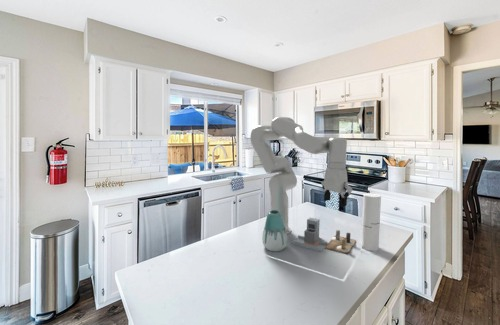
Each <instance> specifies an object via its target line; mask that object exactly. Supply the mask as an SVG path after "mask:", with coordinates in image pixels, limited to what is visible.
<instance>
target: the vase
mask: <svg viewBox="0 0 500 325" xmlns="http://www.w3.org/2000/svg"><path fill="white" fill-rule="evenodd" d="M261 240H262V244H263V247H264V248H265V249H266V250H268V251H270V252H281V251H283V250H284V249H285V248H286V246H287V245H288V234H287V233H286V228H285V225H284V221H283V217H282V215H281V213H280V212H279V211H278V210H271V209H270V210H269V211H268V213H267V215H266V219H265V223H264V227H263V232H262V238H261Z"/></svg>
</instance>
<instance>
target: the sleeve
mask: <svg viewBox="0 0 500 325" xmlns="http://www.w3.org/2000/svg"><path fill="white" fill-rule="evenodd" d="M318 232H319V233H320V229H319V230H316V229H312V228H308V229H307V228H306V229H304V234H303V236H304V243H305V244H309V245H313V246H317V245H318V240H319V238H318Z"/></svg>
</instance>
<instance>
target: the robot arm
mask: <svg viewBox="0 0 500 325" xmlns="http://www.w3.org/2000/svg"><path fill="white" fill-rule="evenodd" d="M249 136H250V144H251V145H252V148H253V149H254V151H255V153H256V154H257V156H258V157H257V158H258V159H259V161H260V163H261V165H262V168H263V170H264V172H265V173H267V174H269V175H272V174H275V175H273V176H271V177H270V179H269V180H268V188H269V194H270V195H269V196H270V211H271V210H278V211H279V212H280V213H281V215H282V217H283V221H284V225H285V228H286V233H287V235H289V234H291V233H292V229H291V228H290V227H289V197H288V193H287V191H290V190H293V189H294V188H295V187H296V186H297V184H298V180H297V176H296V173H295V171H294V170H293V168H292V166H291V163H290V161H289V160H288V159H287V158H286V157H284V156H283V155H276V154H275V152H274V151H273V149H272V147H271V146H270V145H269V144H268V143H267V141H276V140H279V139H281V138H286V139H288V140H290V141H292V143H294V145H295V146H296V147H298V148H300V149H301V150H303V151H305V152H307V153H310V154H313V155H319V154H326V153H327V167H326V168H325V172H324V180H322V181H321V182H320V183H321V187H322V189H323V192H324V197H323V200H324V201H325V202H327V201H328V202H329V201H331V193H332V192H333V193H339V194H340V196H341V197H340V202H339V203H340V204H339V206H340V207H345V206H346V207H347V205H348V198H349V197H350V195H351V194H352V191H353V188H352V187H351V186H350V185H349V184H348V183H349V182H348V172H347V169H346V167H347V166H346V165H347V148H348V147H347V146H348V142H347V141H348V140H347V139H346V138H345V137H327V136H313V135H311V134H309V133H307V132H305V131H304V128H303V126H302V125H300V124H298V123H297V122H295V120H294V119H293V118H291V117H286V116H277V117H275V118H274V119H272V121H271V123H270V125H268V124H265V125H264V124H262V125H257V126H254V127H253V129H252V130H251V132H250V135H249Z"/></svg>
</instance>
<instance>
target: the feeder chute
mask: <svg viewBox="0 0 500 325" xmlns="http://www.w3.org/2000/svg"><path fill="white" fill-rule="evenodd" d="M291 244H293V245H295V246H299V247H303V248H306V249H309V250H314V251H318V252H322V251H323V250H324V249H325V246H326V245H327V244H328V241H324V240H321V239H318V245H317V246H313V245H309V244H305V243H304V235H300V234H298V235H297V239H296V240H294V239H293V240H291Z"/></svg>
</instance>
